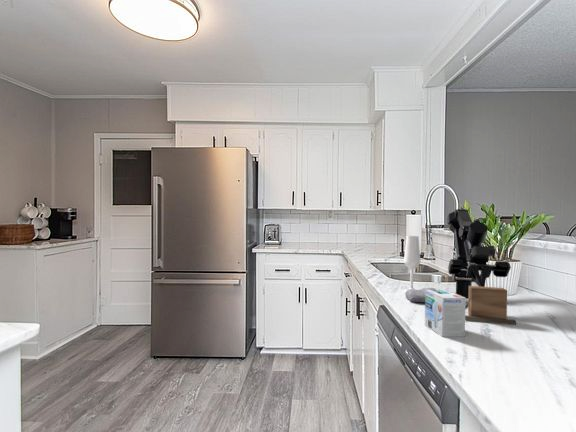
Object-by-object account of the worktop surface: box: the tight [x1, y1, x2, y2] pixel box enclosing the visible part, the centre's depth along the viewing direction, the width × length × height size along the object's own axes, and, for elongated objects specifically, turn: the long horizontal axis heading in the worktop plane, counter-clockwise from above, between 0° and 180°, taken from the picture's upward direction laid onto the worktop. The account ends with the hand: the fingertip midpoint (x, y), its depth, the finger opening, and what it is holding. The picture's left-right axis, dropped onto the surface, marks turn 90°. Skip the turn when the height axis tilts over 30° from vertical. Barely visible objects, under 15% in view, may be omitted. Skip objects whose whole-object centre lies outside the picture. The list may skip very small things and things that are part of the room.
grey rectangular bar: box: [465, 314, 517, 326], centre depth 109 cm, size 2×14×1 cm, turn 75°
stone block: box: [404, 287, 438, 303], centre depth 134 cm, size 12×5×10 cm
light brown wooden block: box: [467, 285, 508, 319], centre depth 112 cm, size 4×10×10 cm, turn 75°
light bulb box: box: [424, 289, 467, 338], centre depth 100 cm, size 11×7×11 cm, turn 5°
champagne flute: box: [403, 235, 421, 293], centre depth 149 cm, size 7×7×24 cm
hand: (482, 288), depth 117 cm, fingers closed
